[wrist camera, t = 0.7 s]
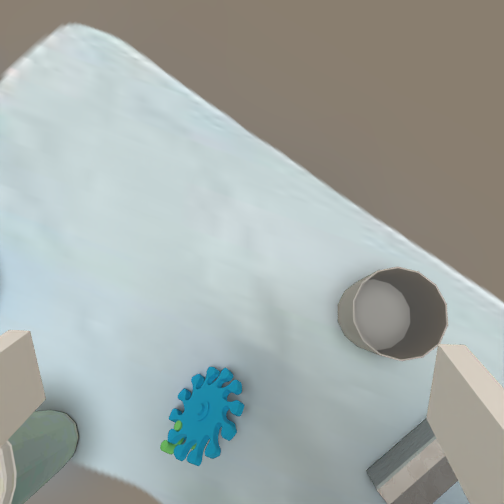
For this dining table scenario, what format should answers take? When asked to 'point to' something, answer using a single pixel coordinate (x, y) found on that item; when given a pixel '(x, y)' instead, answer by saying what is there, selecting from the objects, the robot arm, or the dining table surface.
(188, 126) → the dining table surface
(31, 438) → the disposable coffee cup
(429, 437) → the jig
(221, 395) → the gear
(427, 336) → the cup
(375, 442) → the dining table surface
